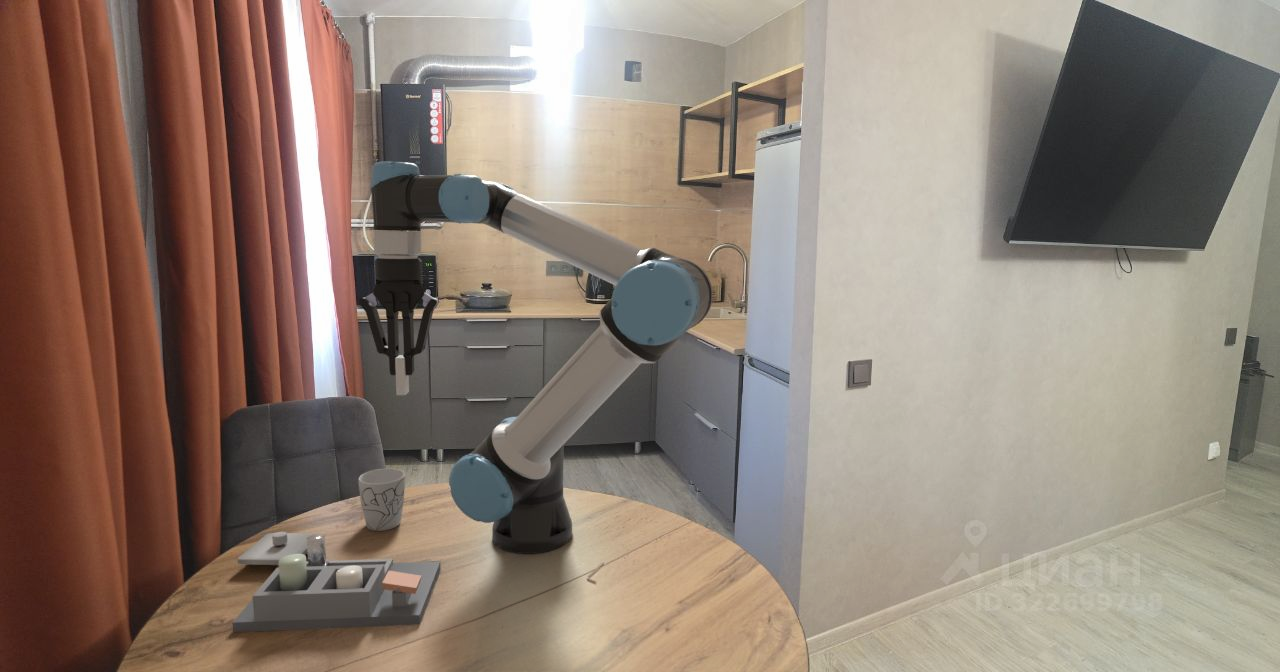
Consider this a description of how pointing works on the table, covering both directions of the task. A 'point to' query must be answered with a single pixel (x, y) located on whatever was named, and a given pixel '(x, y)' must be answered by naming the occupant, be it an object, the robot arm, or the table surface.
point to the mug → (382, 498)
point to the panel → (339, 599)
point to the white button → (349, 577)
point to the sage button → (292, 572)
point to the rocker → (401, 582)
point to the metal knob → (316, 550)
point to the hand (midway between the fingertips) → (402, 393)
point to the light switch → (275, 548)
